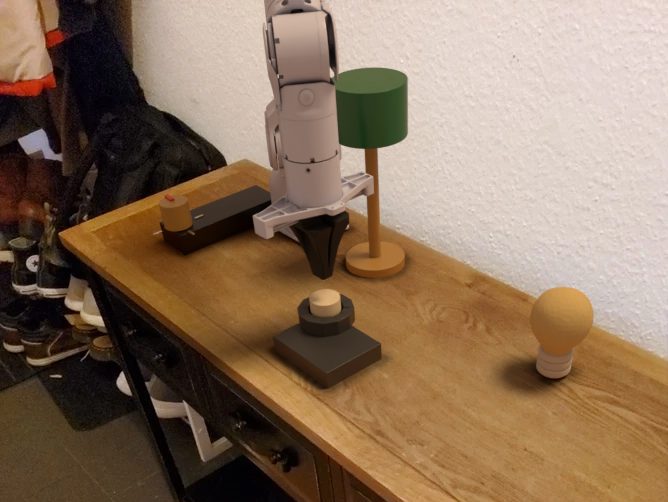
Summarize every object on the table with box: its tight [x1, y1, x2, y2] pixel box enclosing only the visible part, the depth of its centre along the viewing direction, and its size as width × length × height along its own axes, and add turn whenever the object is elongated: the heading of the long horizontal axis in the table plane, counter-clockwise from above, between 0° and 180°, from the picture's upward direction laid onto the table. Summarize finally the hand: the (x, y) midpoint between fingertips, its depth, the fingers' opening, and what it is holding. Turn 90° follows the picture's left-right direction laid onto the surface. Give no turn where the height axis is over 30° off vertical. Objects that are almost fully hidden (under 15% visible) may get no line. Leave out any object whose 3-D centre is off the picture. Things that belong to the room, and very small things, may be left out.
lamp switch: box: [308, 288, 341, 318], centre depth 86 cm, size 4×4×2 cm
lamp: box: [331, 66, 409, 279], centre depth 93 cm, size 9×9×23 cm
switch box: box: [272, 293, 383, 390], centre depth 86 cm, size 11×10×4 cm
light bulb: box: [529, 286, 594, 379], centre depth 79 cm, size 6×6×10 cm
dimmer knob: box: [158, 194, 193, 231], centre depth 104 cm, size 4×4×4 cm
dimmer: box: [152, 184, 272, 257], centre depth 109 cm, size 20×8×3 cm, turn 131°
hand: (322, 275), depth 83 cm, fingers closed
